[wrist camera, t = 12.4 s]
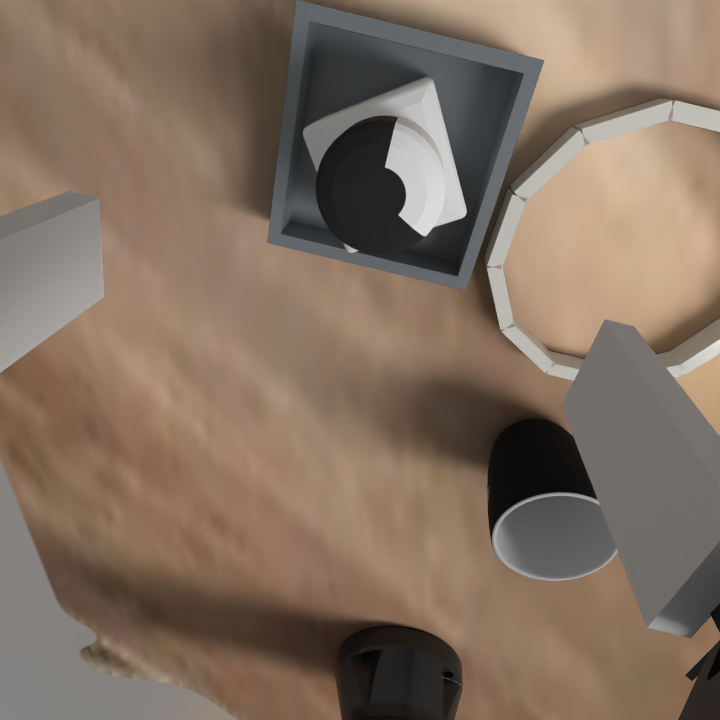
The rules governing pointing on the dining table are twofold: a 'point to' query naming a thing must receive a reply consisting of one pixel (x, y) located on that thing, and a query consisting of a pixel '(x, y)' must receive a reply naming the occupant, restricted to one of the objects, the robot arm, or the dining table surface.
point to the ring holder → (540, 172)
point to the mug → (545, 505)
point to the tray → (376, 76)
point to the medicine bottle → (386, 170)
